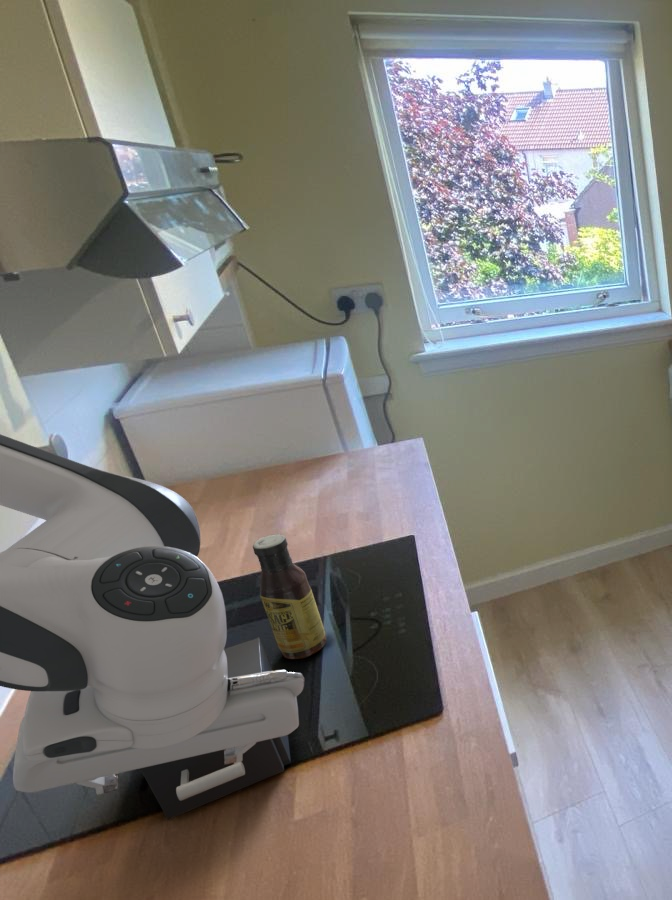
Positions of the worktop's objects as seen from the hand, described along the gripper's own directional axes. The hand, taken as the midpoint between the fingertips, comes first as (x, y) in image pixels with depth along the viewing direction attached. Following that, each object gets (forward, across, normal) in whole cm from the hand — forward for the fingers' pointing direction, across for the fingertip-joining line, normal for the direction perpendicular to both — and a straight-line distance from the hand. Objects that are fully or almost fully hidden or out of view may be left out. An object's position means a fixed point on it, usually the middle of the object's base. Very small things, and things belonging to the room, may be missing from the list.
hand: (173, 770), depth 73 cm
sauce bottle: (+29, -15, -31) cm, 45 cm away
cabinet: (+24, -5, -14) cm, 28 cm away
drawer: (+21, -4, -10) cm, 24 cm away
